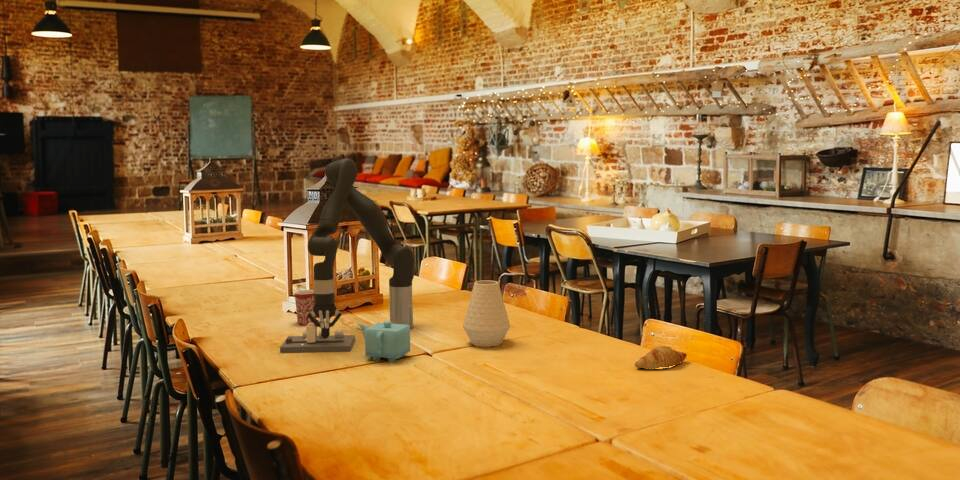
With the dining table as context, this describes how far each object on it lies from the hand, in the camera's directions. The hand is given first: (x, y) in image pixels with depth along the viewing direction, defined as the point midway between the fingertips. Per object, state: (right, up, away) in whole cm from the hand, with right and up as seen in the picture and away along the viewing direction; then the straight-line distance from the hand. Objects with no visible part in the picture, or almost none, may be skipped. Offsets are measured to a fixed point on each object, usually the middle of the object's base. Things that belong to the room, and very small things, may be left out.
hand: (325, 337), depth 293 cm
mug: (-14, +1, +39) cm, 41 cm away
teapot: (+22, -5, -13) cm, 26 cm away
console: (-3, -3, +2) cm, 5 cm away
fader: (-5, -1, 0) cm, 5 cm away
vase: (+59, -3, +4) cm, 59 cm away
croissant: (+117, -7, -26) cm, 120 cm away
